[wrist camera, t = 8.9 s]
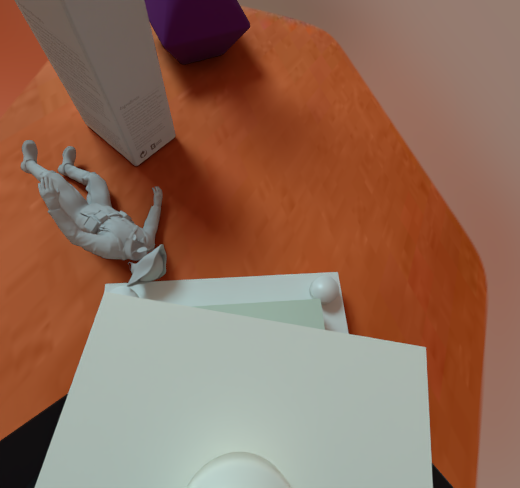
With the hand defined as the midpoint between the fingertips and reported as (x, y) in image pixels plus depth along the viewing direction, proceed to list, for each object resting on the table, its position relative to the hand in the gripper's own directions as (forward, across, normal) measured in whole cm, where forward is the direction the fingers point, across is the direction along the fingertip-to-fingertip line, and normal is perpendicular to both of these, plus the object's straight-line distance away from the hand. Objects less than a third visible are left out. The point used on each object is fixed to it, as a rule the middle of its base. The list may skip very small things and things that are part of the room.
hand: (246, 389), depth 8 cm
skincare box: (+20, +11, -3) cm, 23 cm away
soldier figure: (+15, +10, +3) cm, 18 cm away
